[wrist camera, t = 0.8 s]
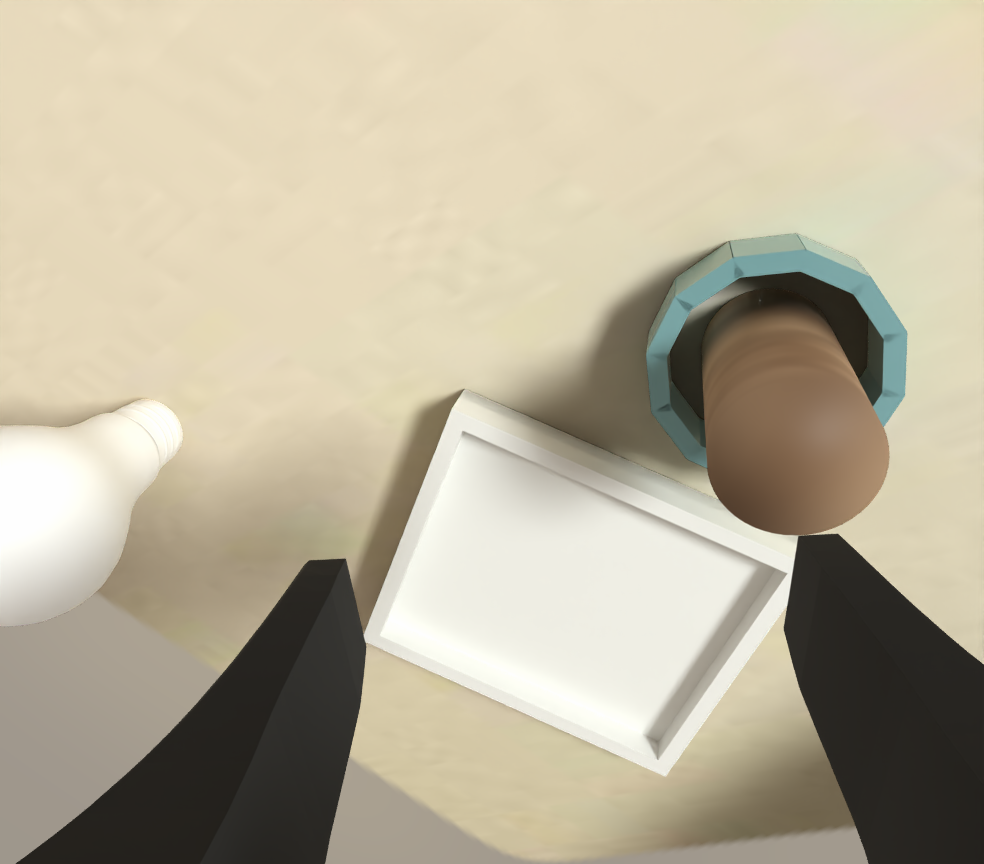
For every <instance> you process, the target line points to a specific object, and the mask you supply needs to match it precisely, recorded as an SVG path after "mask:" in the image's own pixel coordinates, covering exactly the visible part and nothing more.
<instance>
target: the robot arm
mask: <svg viewBox="0 0 984 864" xmlns="http://www.w3.org/2000/svg"><path fill="white" fill-rule="evenodd" d="M784 632H785V636H786V640H787V644H788V648H789V651H790V655H791V659H792V663H793V666H794V670H795V674H796V677H797V681H798V684H799V688H800V690H801V693H802V696H803V698H804V701H805V703H806V706H807V708H808V711H809V713H810V715H811V718H812V720H813V723H814V725H815V728H816V730H817V733H818V735H819V738H820V740H821V742H822V745H823V747H824V750H825V752H826V755H827V757H828V759H829V762H830V764H831V767H832V769H833V771H834V774H835V776H836V779H837V781H838V784H839V786H840V788H841V791H842V793H843V796H844V798H845V801H846V803H847V805H848V808H849V810H850V813H851V815H852V817H853V820H854V823H855V825H856V828H857V831H858V833H859V836H860V839H861V842H862V844H863V847H864V850H865V853H866V856H867V860H868V863H869V864H984V664H982V663H981V662H980V661H979V660H977V659H976V658H975V657H973V656H972V655H971V654H970V653H968V652H967V651H966V650H965V649H963V648H962V647H961V646H960V645H959V644H958V643H956V642H955V641H954V640H953V639H952V638H950V637H949V636H948V635H947V634H946V633H945V632H944V631H942V630H941V629H940V628H939V627H938V626H937V625H936V624H934V623H933V622H932V621H931V620H930V619H929V618H928V617H927V616H925V615H924V614H923V613H922V612H921V611H920V610H919V609H917V608H916V607H915V606H914V605H913V604H912V603H911V602H910V601H909V600H908V599H907V598H905V597H904V596H903V595H902V594H901V593H900V592H899V591H898V590H897V589H896V588H895V587H894V586H893V585H892V584H890V583H889V582H888V581H887V580H886V579H885V578H884V577H883V576H882V575H881V574H880V573H879V572H878V571H877V570H876V569H875V568H874V567H873V566H871V565H870V564H869V563H868V562H867V561H866V560H865V559H864V558H863V557H862V556H861V555H860V554H859V553H858V552H857V551H856V550H855V549H854V548H853V547H851V546H850V545H849V544H848V543H847V542H846V541H845V540H844V539H843V538H842V537H841V536H840V535H839V534H825V535H805V536H798V541H797V547H796V553H795V560H794V566H793V572H792V579H791V585H790V592H789V598H788V604H787V611H786V617H785V624H784ZM365 656H366V643H365V639H364V635H363V631H362V626H361V622H360V618H359V613H358V609H357V605H356V600H355V596H354V592H353V588H352V583H351V579H350V575H349V570H348V566H347V562H346V559H329V560H309V561H308V562H307V563H306V564H305V565H304V566H303V568H302V569H301V570H300V572H299V573H298V575H297V576H296V577H295V579H294V580H293V582H292V583H291V585H290V586H289V587H288V589H287V590H286V592H285V593H284V594H283V596H282V597H281V599H280V600H279V601H278V603H277V604H276V605H275V607H274V608H273V610H272V611H271V612H270V614H269V615H268V616H267V618H266V619H265V620H264V622H263V623H262V624H261V626H260V627H259V628H258V630H257V631H256V632H255V633H254V635H253V636H252V637H251V639H250V640H249V641H248V642H247V644H246V645H245V646H244V648H243V649H242V650H241V651H240V653H239V654H238V655H237V657H236V658H235V659H234V660H233V662H232V663H231V664H230V665H229V666H228V668H227V669H226V670H225V671H224V672H223V674H222V675H221V676H220V677H219V678H218V680H217V681H216V682H215V683H214V684H213V685H212V686H211V687H210V689H209V690H208V691H207V692H206V693H205V694H204V696H203V697H202V698H201V699H200V700H199V702H198V703H197V704H196V705H195V706H194V707H193V708H192V709H191V710H190V711H189V712H188V714H187V715H186V716H185V717H184V718H183V719H182V720H181V721H180V722H179V724H177V725H176V726H175V727H174V728H173V729H172V731H171V732H170V733H169V734H168V735H167V736H166V737H165V738H164V739H163V740H162V741H161V742H160V743H159V744H158V745H157V746H156V747H155V748H154V749H153V750H152V751H151V752H150V753H149V754H147V755H146V756H145V757H144V758H143V759H142V760H141V761H140V762H139V763H138V764H137V765H136V766H135V767H134V768H132V769H131V770H130V771H129V772H128V773H127V774H126V775H125V776H124V777H123V778H122V779H120V780H119V781H118V782H117V783H116V784H115V785H113V786H112V787H111V788H110V789H109V790H108V791H107V792H106V793H104V794H103V795H102V796H101V797H100V798H99V799H98V800H96V801H95V802H94V803H93V804H92V805H91V806H90V807H88V808H87V809H86V810H85V811H84V812H82V813H81V814H80V815H79V816H77V817H76V818H75V819H74V820H72V821H71V822H70V823H69V824H67V825H66V826H65V827H63V828H62V829H61V830H60V831H59V832H57V833H56V834H55V835H54V836H52V837H51V838H49V839H48V840H47V841H46V842H44V843H43V844H41V845H40V846H39V847H37V848H36V849H35V850H34V851H32V852H31V853H29V854H28V855H27V856H26V857H24V858H23V859H21V860H20V861H19V862H17V863H16V864H325V861H326V856H327V851H328V845H329V839H330V835H331V831H332V826H333V822H334V818H335V813H336V809H337V805H338V801H339V797H340V792H341V788H342V783H343V779H344V775H345V771H346V766H347V762H348V758H349V754H350V749H351V745H352V740H353V736H354V732H355V727H356V723H357V718H358V714H359V709H360V703H361V695H362V686H363V677H364V667H365Z"/></svg>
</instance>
